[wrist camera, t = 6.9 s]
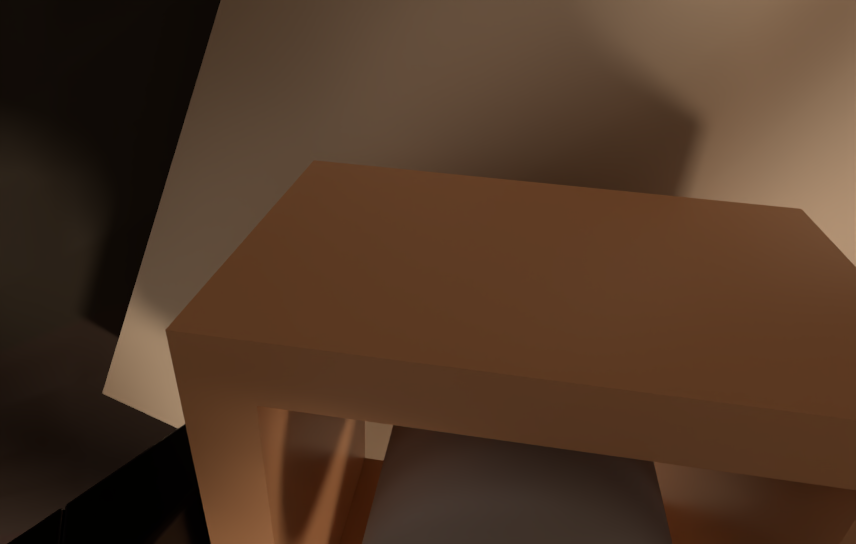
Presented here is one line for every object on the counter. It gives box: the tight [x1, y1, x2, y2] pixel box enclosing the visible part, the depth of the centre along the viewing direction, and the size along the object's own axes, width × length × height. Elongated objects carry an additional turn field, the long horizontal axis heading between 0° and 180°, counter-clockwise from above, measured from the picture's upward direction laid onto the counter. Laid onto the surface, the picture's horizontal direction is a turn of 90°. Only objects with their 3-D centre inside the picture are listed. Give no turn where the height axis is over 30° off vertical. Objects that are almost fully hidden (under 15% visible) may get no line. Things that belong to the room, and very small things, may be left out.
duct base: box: [103, 0, 856, 544], centre depth 9 cm, size 13×13×8 cm
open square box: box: [165, 160, 856, 544], centre depth 8 cm, size 6×6×4 cm
